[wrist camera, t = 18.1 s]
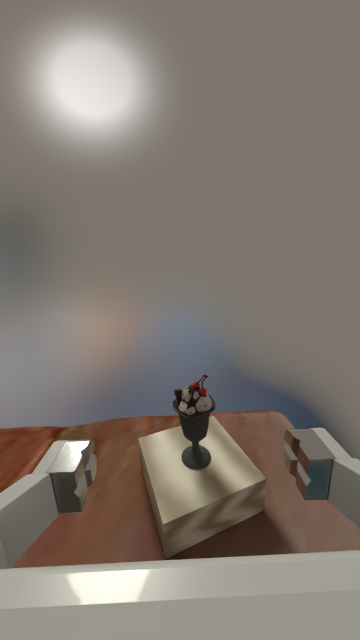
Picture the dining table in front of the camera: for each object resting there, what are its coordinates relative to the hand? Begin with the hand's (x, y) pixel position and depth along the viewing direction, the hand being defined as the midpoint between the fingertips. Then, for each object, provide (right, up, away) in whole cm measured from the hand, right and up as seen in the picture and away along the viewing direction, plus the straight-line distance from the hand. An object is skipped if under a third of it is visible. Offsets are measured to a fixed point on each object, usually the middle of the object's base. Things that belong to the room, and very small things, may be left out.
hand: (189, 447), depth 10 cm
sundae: (+2, -18, +29) cm, 34 cm away
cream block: (+2, -23, +31) cm, 39 cm away
